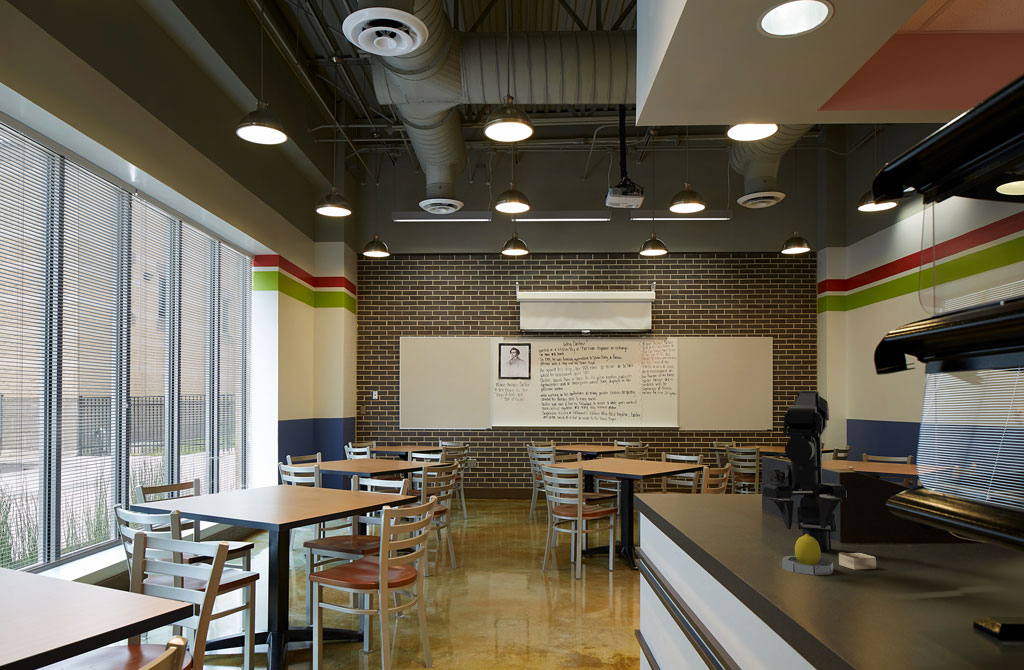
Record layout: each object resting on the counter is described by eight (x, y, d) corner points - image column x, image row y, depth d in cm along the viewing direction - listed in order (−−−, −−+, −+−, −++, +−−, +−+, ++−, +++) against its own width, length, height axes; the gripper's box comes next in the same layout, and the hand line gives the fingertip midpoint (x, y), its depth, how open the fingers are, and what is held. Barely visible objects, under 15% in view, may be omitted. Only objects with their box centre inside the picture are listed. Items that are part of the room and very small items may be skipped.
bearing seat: (812, 563, 163) (812, 554, 163) (842, 573, 153) (842, 564, 153) (774, 565, 160) (774, 556, 161) (802, 576, 150) (802, 566, 151)
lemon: (824, 569, 157) (823, 534, 158) (816, 573, 153) (814, 537, 154) (800, 565, 161) (799, 530, 161) (791, 569, 157) (790, 534, 157)
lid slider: (860, 563, 163) (860, 551, 163) (876, 568, 158) (875, 556, 158) (839, 564, 161) (838, 552, 162) (854, 569, 156) (853, 557, 157)
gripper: (815, 458, 169) (817, 522, 167) (748, 458, 165) (750, 524, 163) (846, 461, 158) (849, 529, 157) (776, 462, 154) (778, 532, 152)
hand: (806, 528), depth 157 cm, fingers open, 9 cm apart
